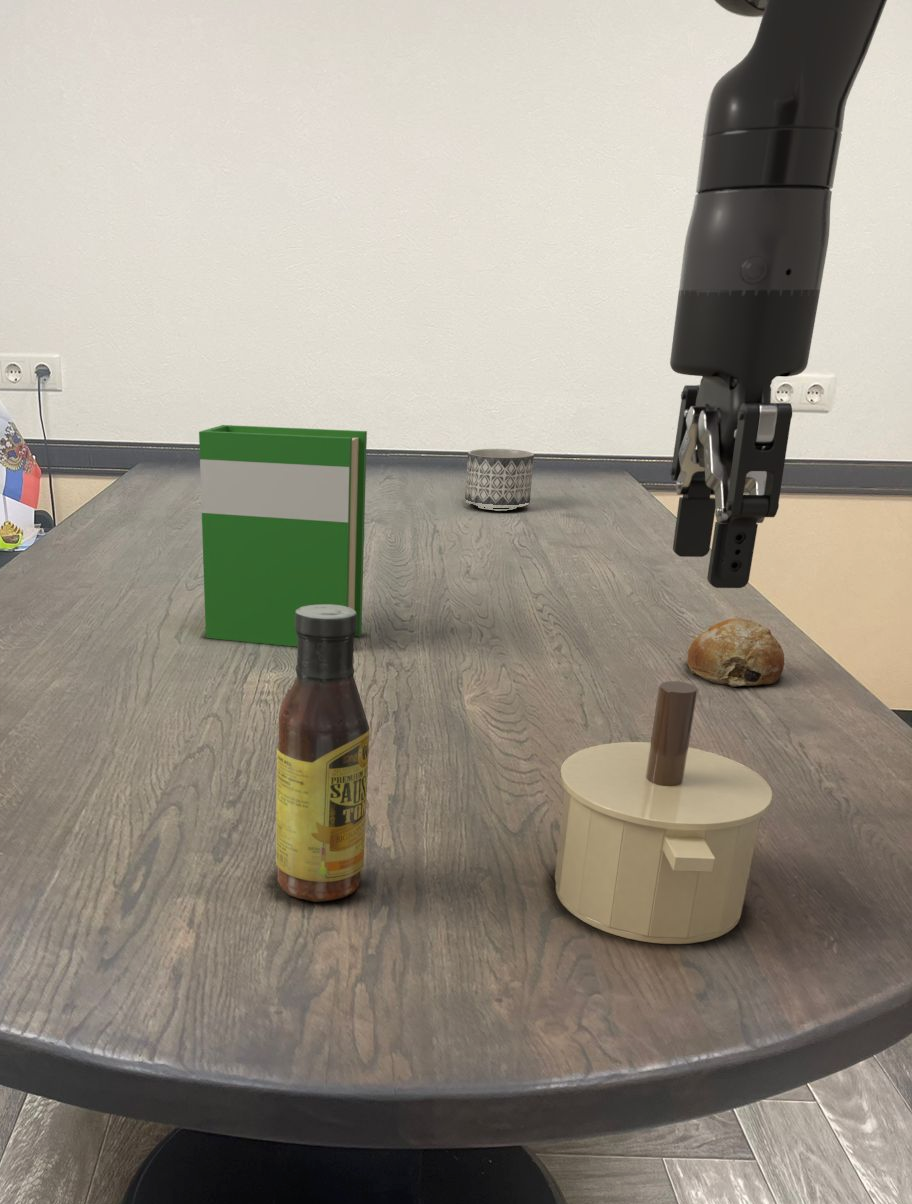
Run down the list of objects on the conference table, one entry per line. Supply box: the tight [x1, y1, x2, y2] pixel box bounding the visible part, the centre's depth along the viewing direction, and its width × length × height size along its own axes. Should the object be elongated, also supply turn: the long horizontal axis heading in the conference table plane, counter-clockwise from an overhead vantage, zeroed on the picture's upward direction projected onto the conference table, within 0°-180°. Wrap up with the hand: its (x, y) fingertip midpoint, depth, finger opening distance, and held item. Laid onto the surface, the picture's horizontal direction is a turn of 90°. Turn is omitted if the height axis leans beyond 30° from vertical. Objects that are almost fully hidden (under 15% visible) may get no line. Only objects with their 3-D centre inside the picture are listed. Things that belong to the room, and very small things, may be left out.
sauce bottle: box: [275, 604, 371, 903], centre depth 75 cm, size 6×6×20 cm
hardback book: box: [198, 424, 368, 648], centre depth 131 cm, size 18×7×24 cm, turn 73°
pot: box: [554, 789, 762, 945], centre depth 76 cm, size 13×18×8 cm
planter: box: [464, 448, 535, 509], centre depth 216 cm, size 13×13×10 cm
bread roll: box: [686, 617, 785, 688], centre depth 122 cm, size 10×10×8 cm
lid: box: [559, 680, 773, 831], centre depth 73 cm, size 14×14×8 cm
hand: (707, 570), depth 69 cm, fingers open, 8 cm apart
